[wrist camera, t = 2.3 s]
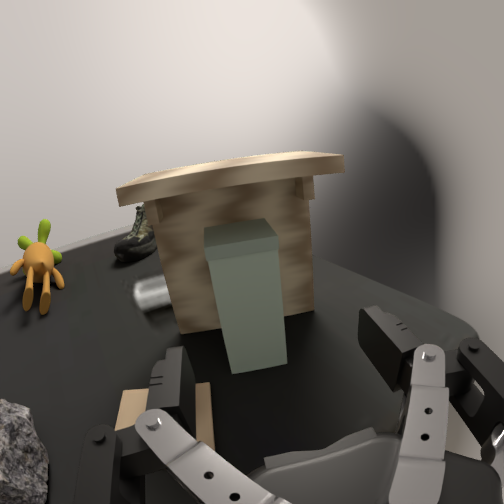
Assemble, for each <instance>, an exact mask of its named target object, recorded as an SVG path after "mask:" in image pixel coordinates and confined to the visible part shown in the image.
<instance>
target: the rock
mask: <svg viewBox="0 0 504 504" xmlns="http://www.w3.org/2000/svg"><path fill="white" fill-rule="evenodd" d="M48 464H49V460H48V453H47V449H46V448H45V447H44V446H43V444H42V443H41V441H40V439H39V438H38V436H37V433H36V431H35V428H34V423H33V417H32V414H31V411H30V409H29V408H27V407H25V406H22V405H19V404H16V403H9V402H7V401H6V400H4V399H0V504H44V503H45V502H46V496H47V484H46V482H47V480H48Z"/></svg>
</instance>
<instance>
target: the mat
mask: <svg viewBox="0 0 504 504" xmlns="http://www.w3.org/2000/svg"><path fill="white" fill-rule="evenodd" d="M148 390H149V389H138V390H124V391H123V395H122V399H121V404H120V408H119V413H118V417H117V422H116V427H115V431H116V430H120V429H123V428H126V427H129V426H132V425H134V424H135V422H136V419H137V418H138V416H139V415H140V414H142V413H143V412H145V409H146V403H147V396H148ZM196 441H198V442H199V441H202V442H204V443H205V444H206V445H208V446H209V447H210V448H211V449H212V450H213V451H215V442H214V430H213V418H212V404H211V389H210V383H209V382H206V383H199V384H196Z"/></svg>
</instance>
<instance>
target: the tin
mask: <svg viewBox="0 0 504 504" xmlns="http://www.w3.org/2000/svg"><path fill="white" fill-rule="evenodd" d="M278 249H279V240H278V235H277V234H276V232H275V231H274V230H273V229H272V227H271V226H270V225H269V223H268V222H267V221H266V220H265V218H261V219H254V220H248V221H242V222H236V223H229V224H223V225H217V226H211V227H205V228H204V251H205V257H206V261H208V264H209V269H210V274H211V280H212V285H213V290H214V295H215V299H216V304H217V309H218V314H219V318H220V323H221V328H222V332H223V337H224V341H225V346H226V350H227V355H228V359H229V363H230V368H231V372H232V374H236V373H242V372H248V371H253V370H258V369H264V368H269V367H274V366H278V365H283V364H287V352H286V339H285V326H284V314H283V302H282V290H281V279H280V268H279V257H278Z"/></svg>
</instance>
